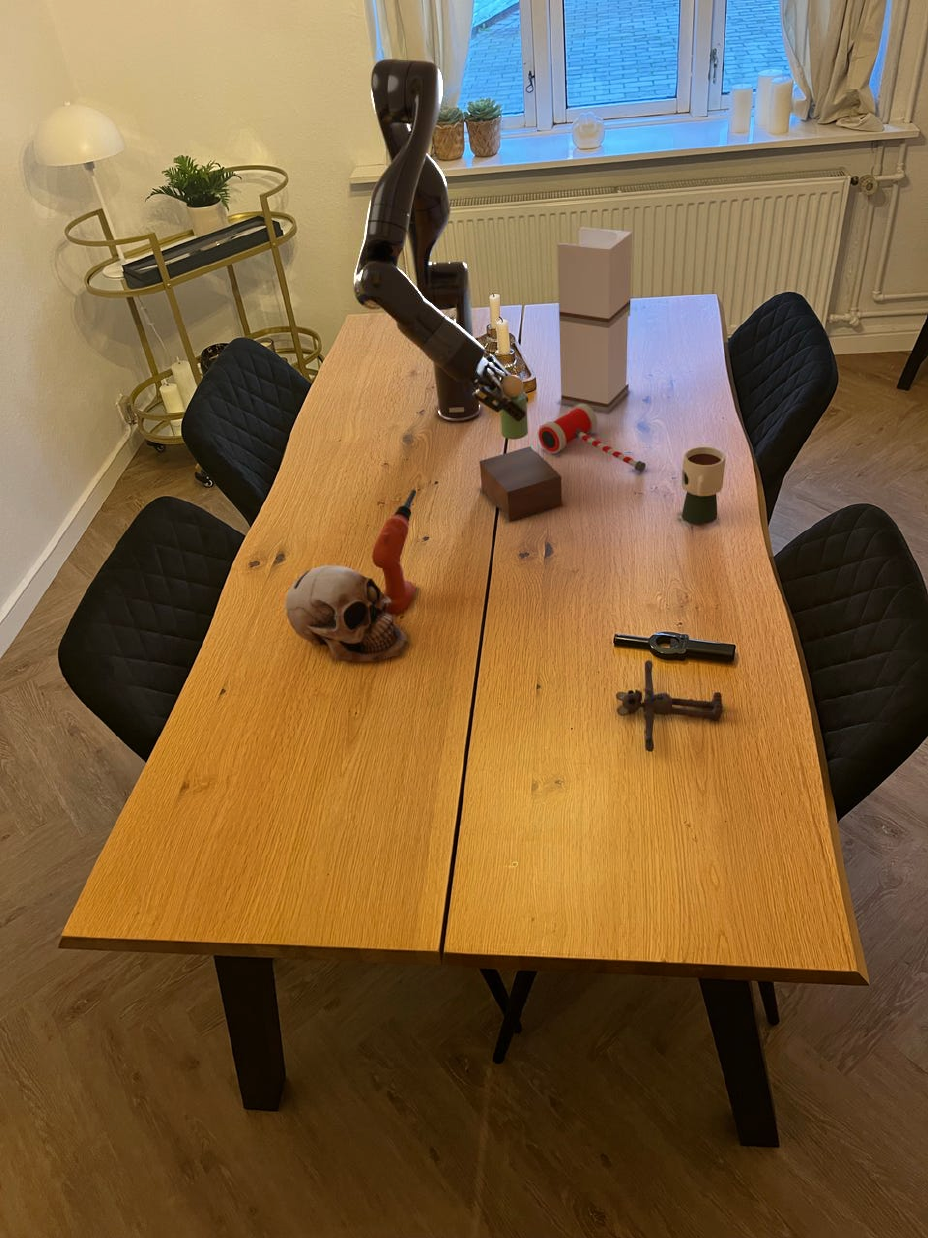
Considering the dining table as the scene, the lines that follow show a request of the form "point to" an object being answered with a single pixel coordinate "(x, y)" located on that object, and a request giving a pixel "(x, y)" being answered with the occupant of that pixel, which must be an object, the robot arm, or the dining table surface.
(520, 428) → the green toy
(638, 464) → the toy hammer
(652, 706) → the bear figurine
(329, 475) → the dining table surface
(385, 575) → the toy drill
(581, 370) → the beige tall block
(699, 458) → the character mug
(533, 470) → the walnut block
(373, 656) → the coin bank
